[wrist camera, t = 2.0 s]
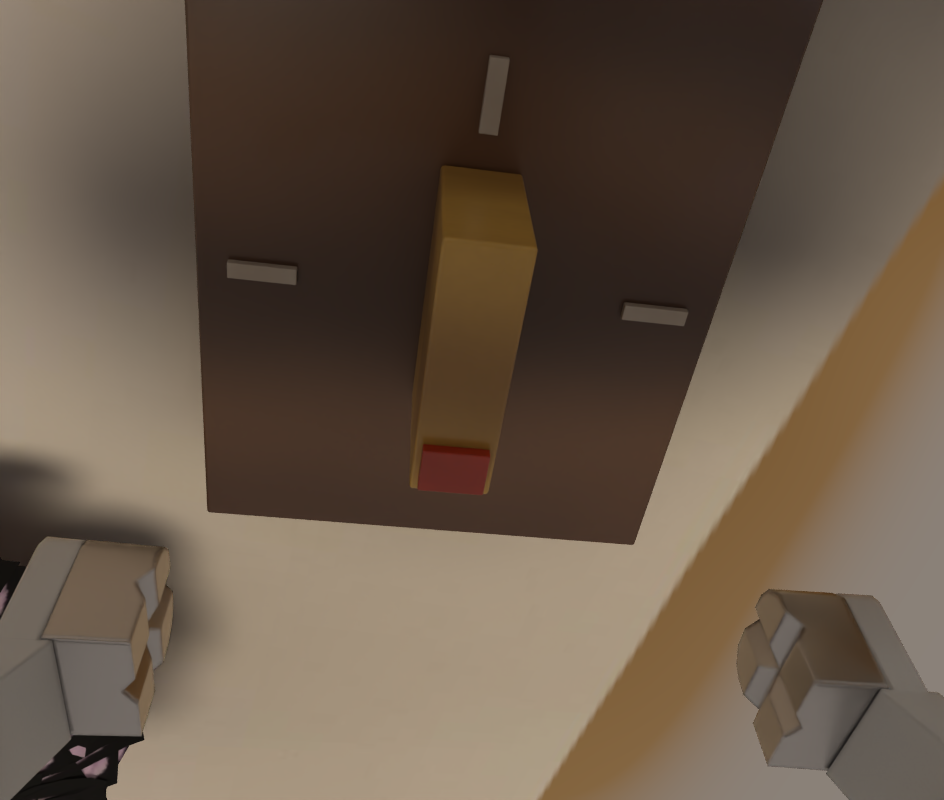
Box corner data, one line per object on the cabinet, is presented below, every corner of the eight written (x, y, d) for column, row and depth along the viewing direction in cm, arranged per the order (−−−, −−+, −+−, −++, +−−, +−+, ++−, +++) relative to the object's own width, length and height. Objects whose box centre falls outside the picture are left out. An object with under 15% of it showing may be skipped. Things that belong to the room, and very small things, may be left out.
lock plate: (215, -149, 17) (175, -130, 14) (780, -61, 18) (838, -28, 15) (229, 437, 25) (205, 517, 22) (615, 471, 26) (635, 550, 23)
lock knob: (441, 163, 17) (442, 244, 14) (523, 173, 17) (540, 255, 14) (411, 394, 20) (408, 497, 17) (481, 401, 20) (489, 504, 18)
